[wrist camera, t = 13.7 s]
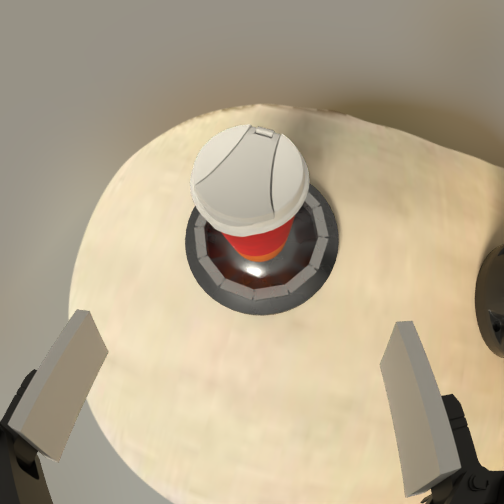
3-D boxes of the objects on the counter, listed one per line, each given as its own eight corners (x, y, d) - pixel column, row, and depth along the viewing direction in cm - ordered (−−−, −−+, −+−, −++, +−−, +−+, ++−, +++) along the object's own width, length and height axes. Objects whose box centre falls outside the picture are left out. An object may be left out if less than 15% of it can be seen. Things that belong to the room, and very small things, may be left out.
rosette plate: (352, 199, 33) (358, 189, 30) (307, 337, 30) (310, 338, 27) (222, 157, 35) (218, 145, 33) (165, 282, 32) (156, 278, 30)
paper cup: (239, 192, 33) (216, 107, 19) (306, 215, 32) (326, 138, 18) (209, 257, 31) (162, 205, 18) (280, 285, 30) (284, 249, 16)
